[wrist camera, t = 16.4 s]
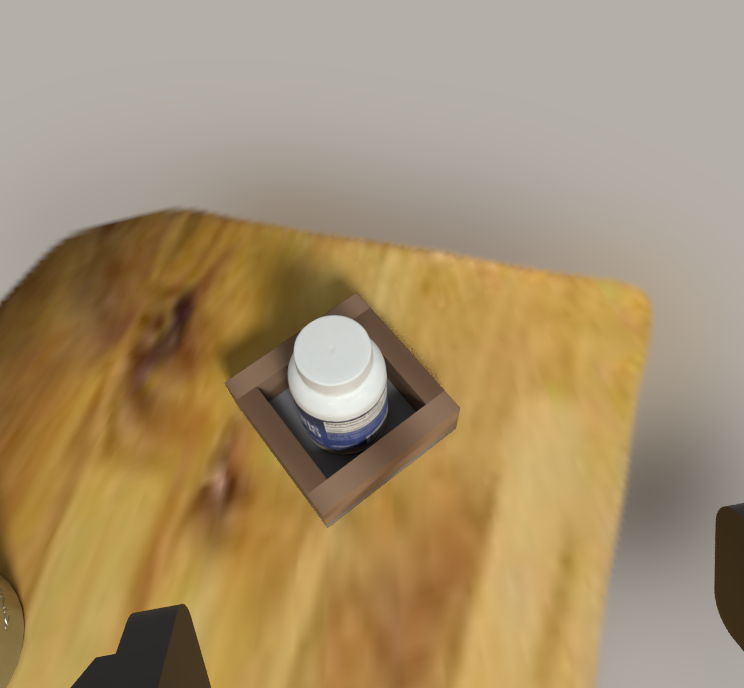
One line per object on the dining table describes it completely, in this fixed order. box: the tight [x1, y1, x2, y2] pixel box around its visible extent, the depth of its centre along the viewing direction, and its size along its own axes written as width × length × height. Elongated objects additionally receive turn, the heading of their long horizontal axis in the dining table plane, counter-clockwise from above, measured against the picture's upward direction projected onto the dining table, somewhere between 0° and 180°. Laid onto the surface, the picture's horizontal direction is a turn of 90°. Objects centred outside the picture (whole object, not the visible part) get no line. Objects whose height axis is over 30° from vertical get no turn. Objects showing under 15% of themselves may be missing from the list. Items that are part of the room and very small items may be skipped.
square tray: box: [225, 293, 460, 528], centre depth 43 cm, size 10×10×4 cm
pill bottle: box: [288, 315, 388, 455], centre depth 39 cm, size 5×5×10 cm
